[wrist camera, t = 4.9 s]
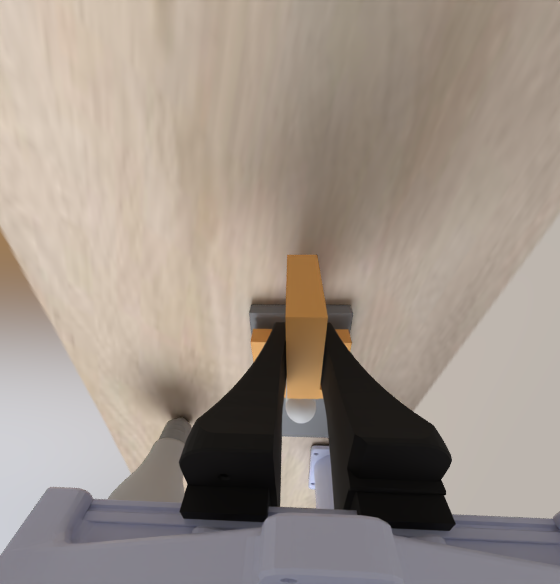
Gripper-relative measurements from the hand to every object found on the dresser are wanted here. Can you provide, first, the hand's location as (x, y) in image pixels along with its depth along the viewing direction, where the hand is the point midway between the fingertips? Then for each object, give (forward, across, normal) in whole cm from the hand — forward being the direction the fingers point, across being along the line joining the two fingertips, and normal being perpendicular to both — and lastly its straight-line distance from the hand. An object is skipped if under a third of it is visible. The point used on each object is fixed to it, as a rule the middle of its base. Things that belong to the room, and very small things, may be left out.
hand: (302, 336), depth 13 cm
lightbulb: (+5, +12, +15) cm, 20 cm away
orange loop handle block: (+3, 0, +2) cm, 4 cm away
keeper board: (+5, 0, +8) cm, 10 cm away
